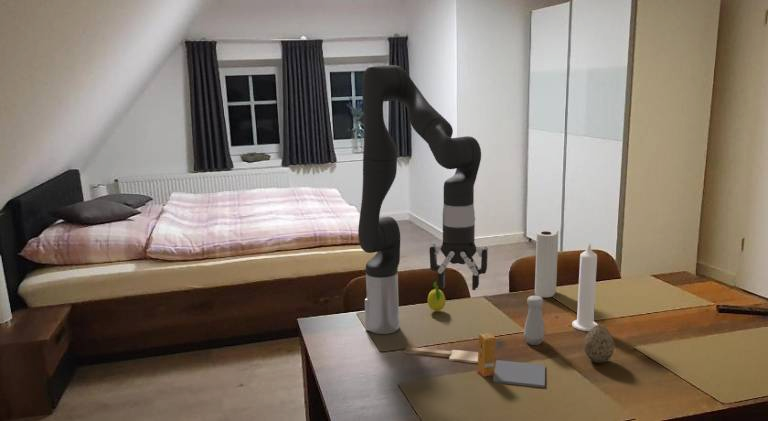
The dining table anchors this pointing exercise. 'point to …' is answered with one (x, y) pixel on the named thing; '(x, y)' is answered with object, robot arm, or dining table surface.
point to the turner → (447, 354)
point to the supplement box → (486, 354)
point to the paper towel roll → (546, 263)
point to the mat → (519, 373)
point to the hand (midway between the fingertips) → (458, 287)
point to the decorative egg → (599, 344)
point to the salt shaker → (534, 321)
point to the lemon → (436, 299)
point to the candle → (586, 291)
